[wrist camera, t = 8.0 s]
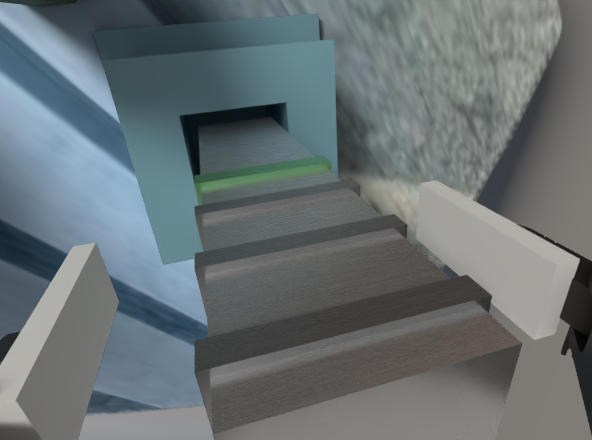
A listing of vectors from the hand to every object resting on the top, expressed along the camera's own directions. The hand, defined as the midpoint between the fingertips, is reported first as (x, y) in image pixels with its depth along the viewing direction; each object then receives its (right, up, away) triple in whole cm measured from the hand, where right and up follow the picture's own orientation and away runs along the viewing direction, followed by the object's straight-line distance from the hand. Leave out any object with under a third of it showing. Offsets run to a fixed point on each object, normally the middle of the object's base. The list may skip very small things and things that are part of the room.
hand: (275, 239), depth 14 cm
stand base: (-5, +9, +19) cm, 22 cm away
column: (-3, +6, +11) cm, 13 cm away
